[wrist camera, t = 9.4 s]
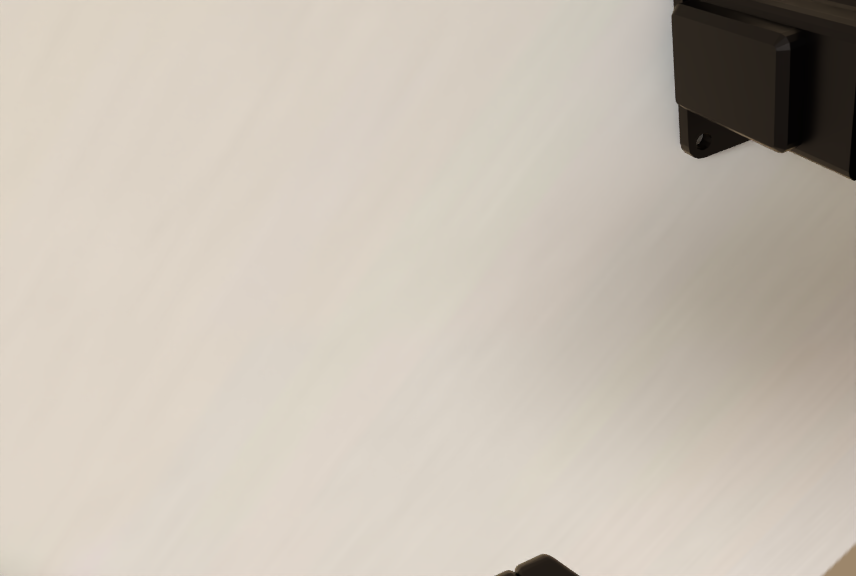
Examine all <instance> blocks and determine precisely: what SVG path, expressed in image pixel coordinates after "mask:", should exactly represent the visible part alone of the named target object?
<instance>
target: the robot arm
mask: <svg viewBox="0 0 856 576" xmlns="http://www.w3.org/2000/svg"><path fill="white" fill-rule="evenodd" d="M672 36H673V57H674V77H675V98H676V102H677V104H678V107H679V128H680V144H681V148H682V150H683V151H684V152H685V153H687V154H689V155H691V156H693V157H695V158H698V159H699V158H705V157H707V156H710V155H712V154H715V153H718V152H720V151H723V150H726V149H728V148H731V147H733V146H736V145H739V144H741V143H744V142H746V141H749V140H753V141H755V142H757V143H759V144H761V145H763V146H765V147H767V148H770V149H772V150H774V151H776V152H778V153H784V152H786V151H790V152H793V153H795V154H797V155H799V156H801V157H803V158H806V159H808V160H810V161H812V162H814V163H816V164H819V165H821V166H823V167H825V168H827V169H829V170H832V171H834V172H836V173H838V174H840V175H842V176H845V177H847V178H849V179H851V180H853V181H855V180H856V0H674V11H673V14H672ZM702 134H703V137H702V140H701V141H700V143H699V144H697V145H696V142H697V139H698V138H699V136H700V135H702ZM496 576H579V575H578V574H576V573H575V572H573V571H572V570H570V569H569V568H568V567H566V566H565V565H563V564H562V563H560V562H559V561H558V560H556V559H555V558H553V557H552V556H550V555H547V554H541V555H539V556H536V557H534V558H532V559H530V560H528V561H526V562H524V563H521V564H519V565H518V566H516V568H515V572H513V571H510V570H507V571H504V572H502V573H500V574H498V575H496Z"/></svg>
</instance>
